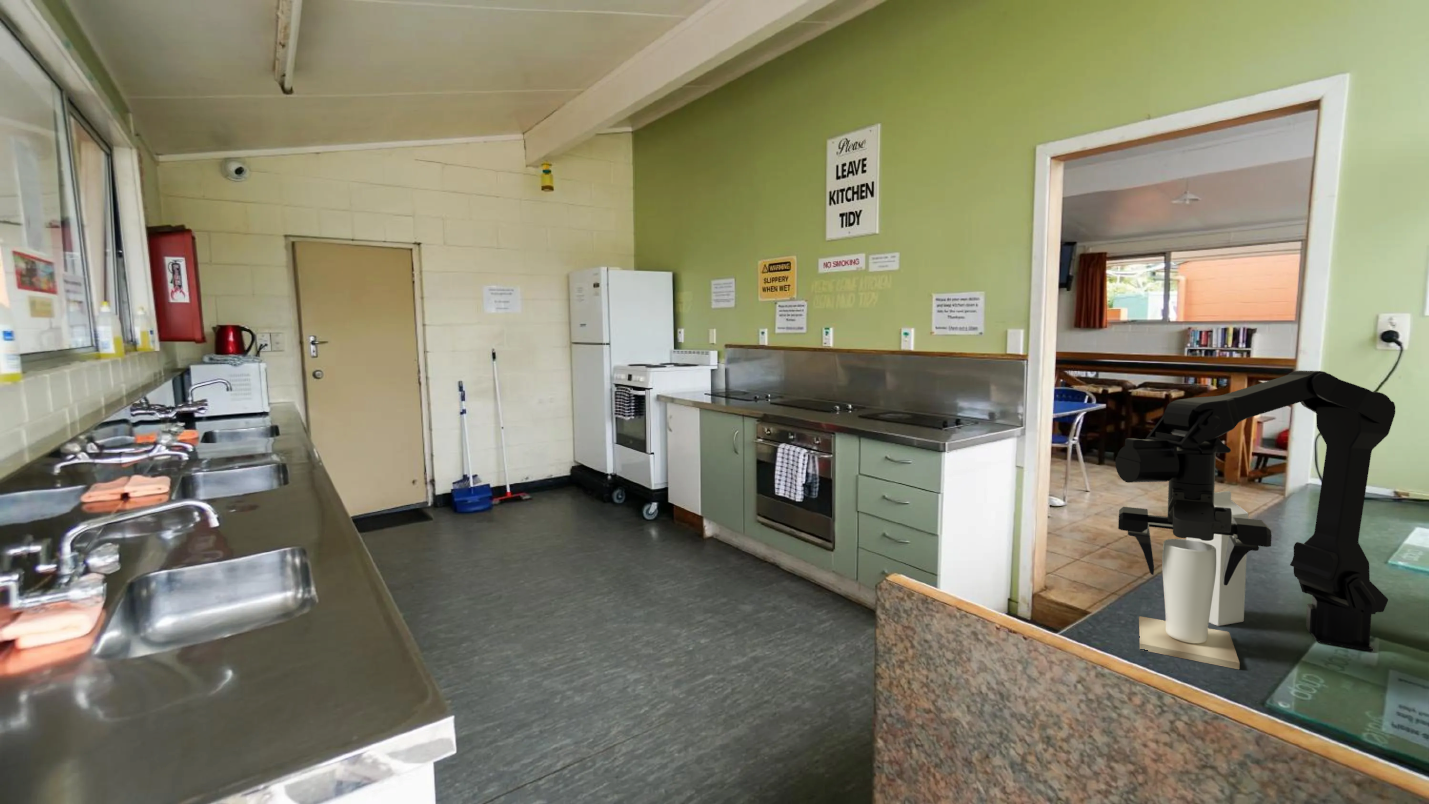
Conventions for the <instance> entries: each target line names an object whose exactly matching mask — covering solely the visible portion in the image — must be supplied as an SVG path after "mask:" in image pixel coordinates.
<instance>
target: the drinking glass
mask: <svg viewBox="0 0 1429 804" xmlns="http://www.w3.org/2000/svg"><path fill="white" fill-rule="evenodd" d="M1162 545H1163V546H1162V557H1161V558H1162V559H1161V560H1162V561H1161V567H1162V569H1161V570H1162V584H1163V595H1164V596H1163V597H1164V613H1165V615H1164V616H1165V621H1166V626H1165V630H1166V633H1167V634H1168V635H1169V636H1170V637H1172V638H1174V639H1176V640H1179V641H1182V642H1186V643H1194V644H1199V643H1204V642H1205V641H1206V640H1207V638H1208V628H1209V624H1210V623H1209V617H1210V610H1211V603H1212V597H1213V590H1214V584H1215V576H1216V548H1215V547H1214V546H1212V545H1210V544H1207V543H1204V542H1199V541H1194V540H1186V538H1170V539H1169V538H1168V539H1165V540H1164V541H1163V544H1162Z"/></svg>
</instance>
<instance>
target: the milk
mask: <svg viewBox="0 0 1429 804" xmlns="http://www.w3.org/2000/svg"><path fill="white" fill-rule="evenodd" d="M1214 507H1223V508H1231V512H1232V520H1233V517H1235V518H1245V519H1249V512H1247V511H1246V510H1245V509H1244V508H1243V507H1241V506H1240V505H1238V504H1237V502H1234V501H1233V500H1232V492H1231V491H1230V490H1227V491H1219V492H1216V491H1215V492H1214ZM1229 536H1230V535H1220V534H1214V539H1213V540H1211V541H1203V540H1201V539H1196V538H1185V539H1186V540H1194V541H1199V542H1204V543H1207V544H1210V545H1212V546H1214V547H1215V548H1216V576H1215V584H1214V590H1213V597H1212V603H1211V610H1210V617H1209V624H1211V625H1215V626H1216V627H1220V626H1225V625H1226V626H1227V625H1230V624H1231V625H1232V624H1237V623H1242V622H1244V621H1245V619H1244V618H1245V600H1246V581H1247V579H1246V576H1247V554H1248V553H1247V554H1245V555H1244V557H1243V558H1242V559H1241V561H1240V562H1239V563H1238V565H1237V567H1236V569H1235V571H1234V573H1233V575H1232V577H1231V579H1230V581H1229V583H1228V585H1224V584H1223V570H1224V564H1225V558H1226V552H1227V546H1228V539H1229Z"/></svg>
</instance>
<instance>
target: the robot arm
mask: <svg viewBox="0 0 1429 804" xmlns="http://www.w3.org/2000/svg"><path fill="white" fill-rule="evenodd" d="M1298 403H1300V404H1301V405H1302V406H1303V407H1304V408H1306V409H1308V410H1309V411H1311V412H1313V413H1315V415H1316V429H1317V431H1318V433H1319V434H1320V436H1321V437H1322V439H1323V441H1324V443H1325V446H1326V449H1325V450H1326V451H1325V455H1324V456H1325V457H1324V464H1323V470H1322V477H1321V478H1322V479H1321V485H1320V491H1319V498H1318V499H1319V500H1318V505H1317V511H1316V512H1317V513H1316V520H1315V528H1314V531H1313V534H1312V535H1311V536H1310V537H1309V538H1308V539H1307V540H1306V541H1305V542H1304V543H1302V542H1300V541H1297V542H1295V543H1294V544H1293V557H1292V560H1291V562H1290V564H1289V566H1290V567H1293V574H1294V577H1295V578H1297V580H1298V583H1299V586H1300V589H1301V592H1302V593H1304V594H1308V595H1311V603H1308V604H1307V605H1306V619H1305V621H1306V623H1305V627H1306V629H1307V631H1308V633H1309V634H1311V636H1312V637H1313V639H1314V641H1315V642H1318V643H1321V644H1327V645H1332V646H1333V645H1334V646H1339V647H1344V648H1349V649H1356V650H1357V649H1358V650H1361V651H1368V652H1374V650H1375V649H1374V647H1373V645H1372V644H1371V642H1370V641H1371V629H1372V628H1371V627H1372V615H1376V614H1377V613H1383V612H1384V611H1385V610H1386V607H1387V604H1388V601H1389V599H1388V597H1387V596H1386V595H1385V594H1384V593H1383V592H1382V591H1381V590H1380V589H1379V588H1377V587H1376V585H1374V583H1373V582H1372V581H1371V579H1370V574H1371V573H1370V561H1369V559H1368V558H1367V556H1366V553H1365V552H1364V550H1363V549H1362V547H1361V544H1360V542H1359V538H1360V532H1361V527H1362V526H1361V525H1362V519H1363V511H1364V505H1365V504H1364V503H1365V500H1366V499H1365V498H1366V490H1367V484H1368V479H1369V478H1368V476H1369V471H1370V469H1369V468H1370V463H1371V458H1372V452H1373V450H1374V449H1375V448H1376V447H1377V446H1378V445H1379V444H1380V443H1381V442H1382V441H1384V439H1385V438H1386V437H1387V436H1388V435H1389V433H1390V432H1391V427H1392V425H1393V422H1394V418H1395V415H1396V405H1395V402H1394V401H1392V399H1390V397H1389V396H1388V395H1386V394H1385V393H1383V392H1379V391H1373V390H1370V389H1368V388H1365V387H1363V386H1360V385H1356V384H1355V383H1351V382H1348V381H1346V380H1345V381H1344V380H1342V379H1340V378H1337V376H1334V375H1333V374H1330V373H1329V372H1327V371H1322V370H1294V371H1292V372H1290V373H1287V374H1286V375H1283V376H1281V377H1277V378H1275V379H1270V380H1267V381H1264V382H1261V383H1258V384H1257V383H1256V384H1255V385H1251V386H1247V387H1245V388H1242V389H1237V390H1236V391H1235V390H1234V391H1231V392H1229V393H1225V394H1222V395H1216V396H1201V397H1199V396H1198V397H1189V398H1182V399H1176V400H1173V401H1171V402H1169V403H1168V404H1167V405H1166V408H1165V410H1164V413H1163V415H1162V417H1161V418H1160V419H1159V420H1158V422H1157V423H1156V424H1155V426H1153V428H1152V429H1151V431H1150V432H1149V433H1148V435H1146V437H1145V439H1144V438H1142V439H1139V438H1133V437H1131V438H1125V440H1124V446H1123V447H1121V448H1120V449H1119V451H1118V453H1117V455H1116V457H1115V469H1116V472H1117V475H1118V476H1119V478H1120V479H1121V480H1122V481H1123V482H1125V483H1129V484H1130V483H1132V484H1133V483H1162V482H1163V483H1165V482H1168V487H1167V488H1168V489H1167V493H1168V494H1167V498H1168V499H1167V515H1166V516H1164V515H1163V516H1162V515H1155V514H1149V513H1148V510H1149V509H1147V508H1141V507H1131V506H1122V507H1121V508H1119V510H1118V526H1117V529H1118V530H1120V531H1124V532H1125V531H1127V535H1128V536H1130V537H1134V538H1135V539H1136V540H1137V542H1138V545H1140V548H1141V550H1142V552H1143V555H1144V558H1145V562H1146V565H1147V566H1148V570H1149V574H1150V575H1153V576H1154V575H1155V562H1154V556H1153V555H1154V554H1153V547H1152V541H1151V532H1150V528H1158V529H1167V530H1168V529H1169V530H1172V533H1173V534H1172V535H1174V536H1175V537H1176V538H1178V539H1186V538H1196V539H1201V540H1203V541H1211V540H1213V539H1214V534H1220V535H1230V536H1229V539H1228V546H1227V552H1226V558H1225V564H1224V570H1223V584H1224V585H1228V583H1229V581H1230V579H1231V577H1232V575H1233V573H1234V571H1235V569H1236V567H1237V565H1238V563H1239V562H1240V561H1241V559H1242V558H1243V557H1244V555H1245V554H1249V552H1250V551H1251V552H1252V551H1253V552H1256V551H1259V549H1260V547H1266V548H1268V547H1269V548H1270V547H1272V530H1271V529H1270V527H1269V526H1268V525H1267V524H1266V522H1264V521H1263V520H1261V519H1253V518H1252V519H1251V518H1248V519H1245V518H1235V517H1233V520H1232V512H1231V508H1223V507H1214V493H1215V485H1216V480H1215V479H1216V459H1217V458H1216V456H1217V454H1229V453H1231V451H1232V450H1231V449H1232V448H1230V447H1229V446H1228V445H1226V444H1225V443H1224V442H1222V440H1221V439H1220V438H1219V437H1221V436H1223V435H1224V434H1227V433H1229V432H1230V431H1233V430H1234V429H1235V428H1236V427H1237V425H1238V424H1239V423H1240V422H1243V421H1245V420H1247V419H1250V418H1254V417H1257V416H1259V415H1260V416H1261V415H1263V414H1267V413H1269V412H1272V411H1276V410H1279V409H1283V408H1285V407H1290V406H1292V405H1295V404H1298Z"/></svg>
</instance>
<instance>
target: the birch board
mask: <svg viewBox="0 0 1429 804" xmlns="http://www.w3.org/2000/svg"><path fill="white" fill-rule="evenodd" d="M1165 626H1166V620H1163V619H1159V618H1158V619H1157V618H1153V617H1152V618H1151V617H1146V616H1138V627H1139V628H1138V630H1139V636H1140V638H1139V650H1140V649H1145V650H1148V651H1147V652H1150V653H1156V654H1161V655H1165V656H1170V657H1175V658H1180V659H1185V660H1190V661H1196V662H1200V663H1204V664H1210V665H1215V666H1221V667H1225V668H1229V669H1235V670H1240V665H1241V664H1240V660H1239V657H1238V655H1237V651H1236V648H1235V646H1234V645H1235V644H1234V642H1233V640H1232V637H1231V634H1230V632H1229V631H1226V630H1220V629H1214V628H1209V627H1208V638H1207V640H1206V641H1205V642H1204V643H1199V644H1194V643H1186V642H1182V641H1179V640H1176V639H1174V638H1172V637H1170V636H1169V635H1168V634H1167V633H1166V630H1165Z"/></svg>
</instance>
